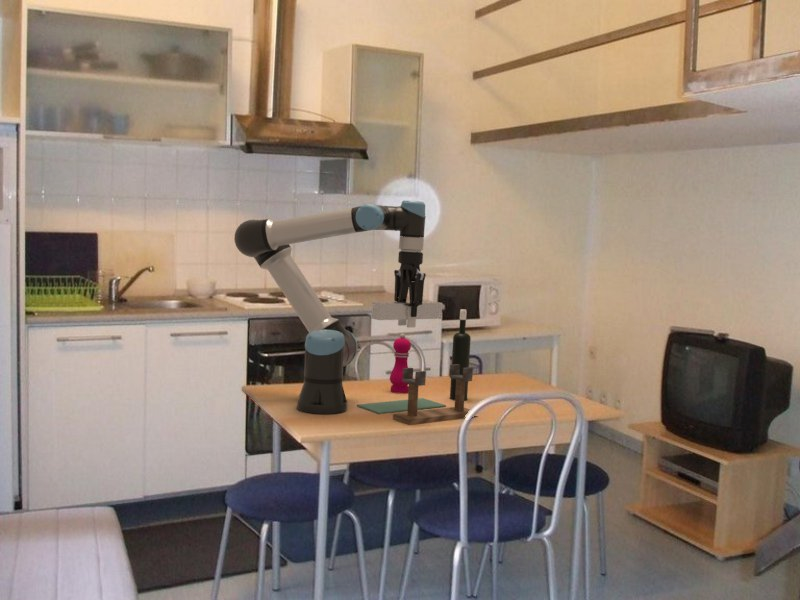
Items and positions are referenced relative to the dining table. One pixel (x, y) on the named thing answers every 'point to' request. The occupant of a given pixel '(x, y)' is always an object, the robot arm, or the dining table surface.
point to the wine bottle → (460, 353)
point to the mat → (398, 406)
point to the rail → (405, 310)
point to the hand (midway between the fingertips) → (406, 326)
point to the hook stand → (436, 414)
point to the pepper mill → (400, 364)
